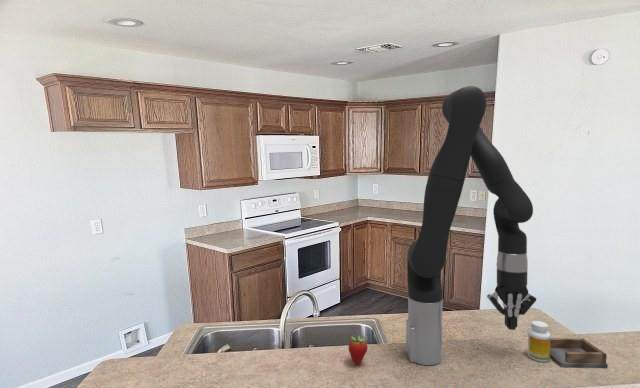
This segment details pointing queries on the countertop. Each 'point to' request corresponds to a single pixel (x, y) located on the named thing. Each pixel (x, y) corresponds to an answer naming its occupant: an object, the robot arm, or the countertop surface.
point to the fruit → (357, 349)
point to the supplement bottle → (539, 341)
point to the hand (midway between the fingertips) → (510, 328)
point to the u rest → (576, 353)
